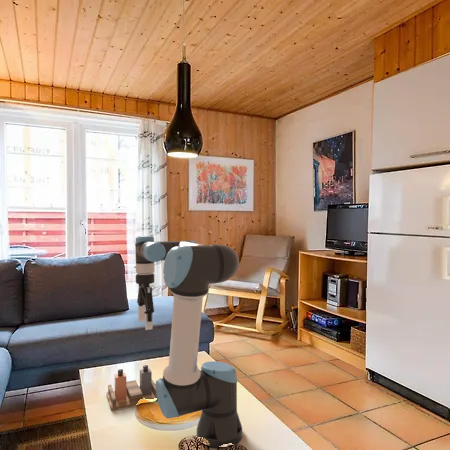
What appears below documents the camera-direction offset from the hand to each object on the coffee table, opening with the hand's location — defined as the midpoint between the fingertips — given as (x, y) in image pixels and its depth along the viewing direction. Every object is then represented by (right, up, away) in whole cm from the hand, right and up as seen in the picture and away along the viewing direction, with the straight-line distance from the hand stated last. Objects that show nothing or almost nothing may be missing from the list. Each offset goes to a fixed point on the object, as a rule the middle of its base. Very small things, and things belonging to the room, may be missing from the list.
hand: (145, 325), depth 151 cm
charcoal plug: (0, -28, 0) cm, 28 cm away
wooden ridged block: (-4, -29, -2) cm, 29 cm away
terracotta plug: (-9, -28, -4) cm, 29 cm away
